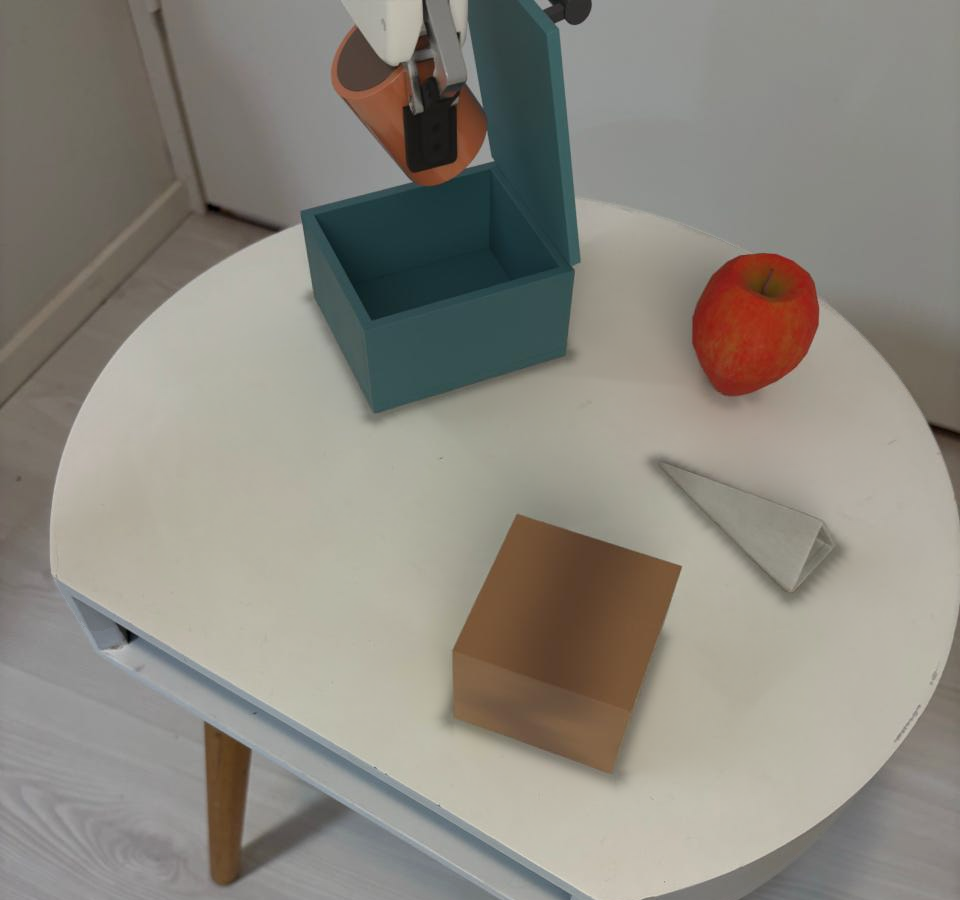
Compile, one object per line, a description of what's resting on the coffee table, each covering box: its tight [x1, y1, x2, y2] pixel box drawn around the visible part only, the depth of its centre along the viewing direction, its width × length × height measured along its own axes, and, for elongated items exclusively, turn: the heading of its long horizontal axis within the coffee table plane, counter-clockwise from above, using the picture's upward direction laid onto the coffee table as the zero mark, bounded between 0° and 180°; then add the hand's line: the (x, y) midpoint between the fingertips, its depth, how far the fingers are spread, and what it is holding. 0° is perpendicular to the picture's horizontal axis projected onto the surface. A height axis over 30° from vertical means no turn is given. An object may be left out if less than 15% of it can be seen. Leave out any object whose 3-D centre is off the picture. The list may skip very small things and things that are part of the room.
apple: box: [691, 252, 820, 397], centre depth 70 cm, size 9×8×11 cm
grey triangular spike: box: [658, 461, 837, 594], centre depth 68 cm, size 6×5×13 cm
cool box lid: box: [467, 0, 593, 267], centre depth 65 cm, size 16×14×5 cm
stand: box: [451, 513, 683, 775], centre depth 58 cm, size 10×10×8 cm
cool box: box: [299, 160, 576, 414], centre depth 74 cm, size 16×14×8 cm
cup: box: [330, 23, 487, 186], centre depth 62 cm, size 6×6×8 cm
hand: (410, 131), depth 63 cm, fingers closed on cup, 6 cm apart
